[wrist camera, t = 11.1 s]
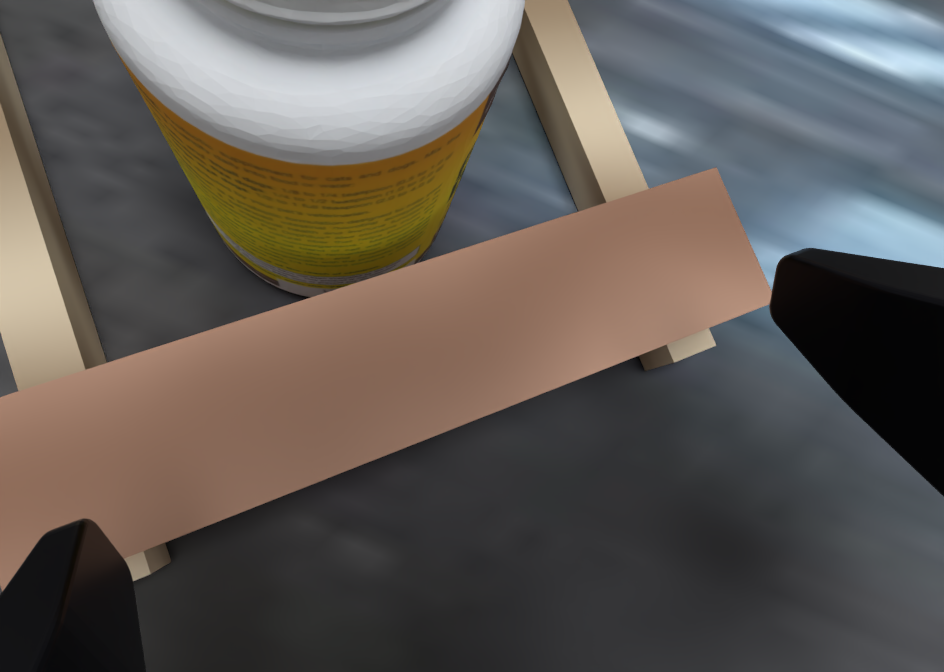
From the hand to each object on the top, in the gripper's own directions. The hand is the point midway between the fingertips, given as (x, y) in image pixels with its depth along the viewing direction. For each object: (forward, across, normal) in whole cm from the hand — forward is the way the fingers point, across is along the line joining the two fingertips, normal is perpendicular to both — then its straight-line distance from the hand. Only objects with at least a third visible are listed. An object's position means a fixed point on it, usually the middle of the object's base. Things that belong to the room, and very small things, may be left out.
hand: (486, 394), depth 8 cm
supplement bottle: (+10, 0, +1) cm, 10 cm away
